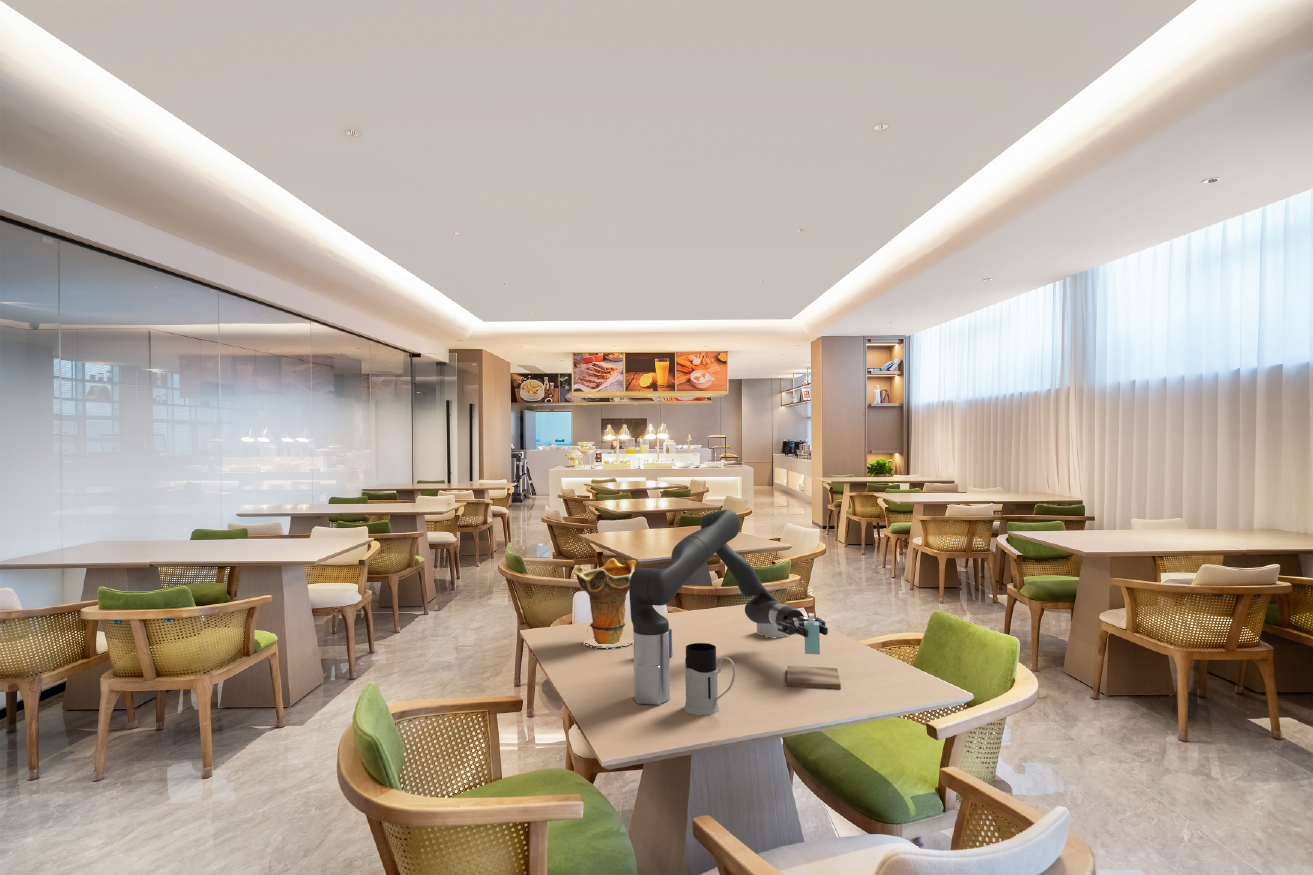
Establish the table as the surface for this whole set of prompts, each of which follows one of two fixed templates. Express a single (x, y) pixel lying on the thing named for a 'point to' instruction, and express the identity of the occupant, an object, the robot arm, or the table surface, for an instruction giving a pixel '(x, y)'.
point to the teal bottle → (812, 636)
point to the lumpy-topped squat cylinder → (769, 630)
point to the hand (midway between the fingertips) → (816, 632)
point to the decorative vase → (607, 598)
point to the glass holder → (702, 679)
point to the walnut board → (813, 677)
